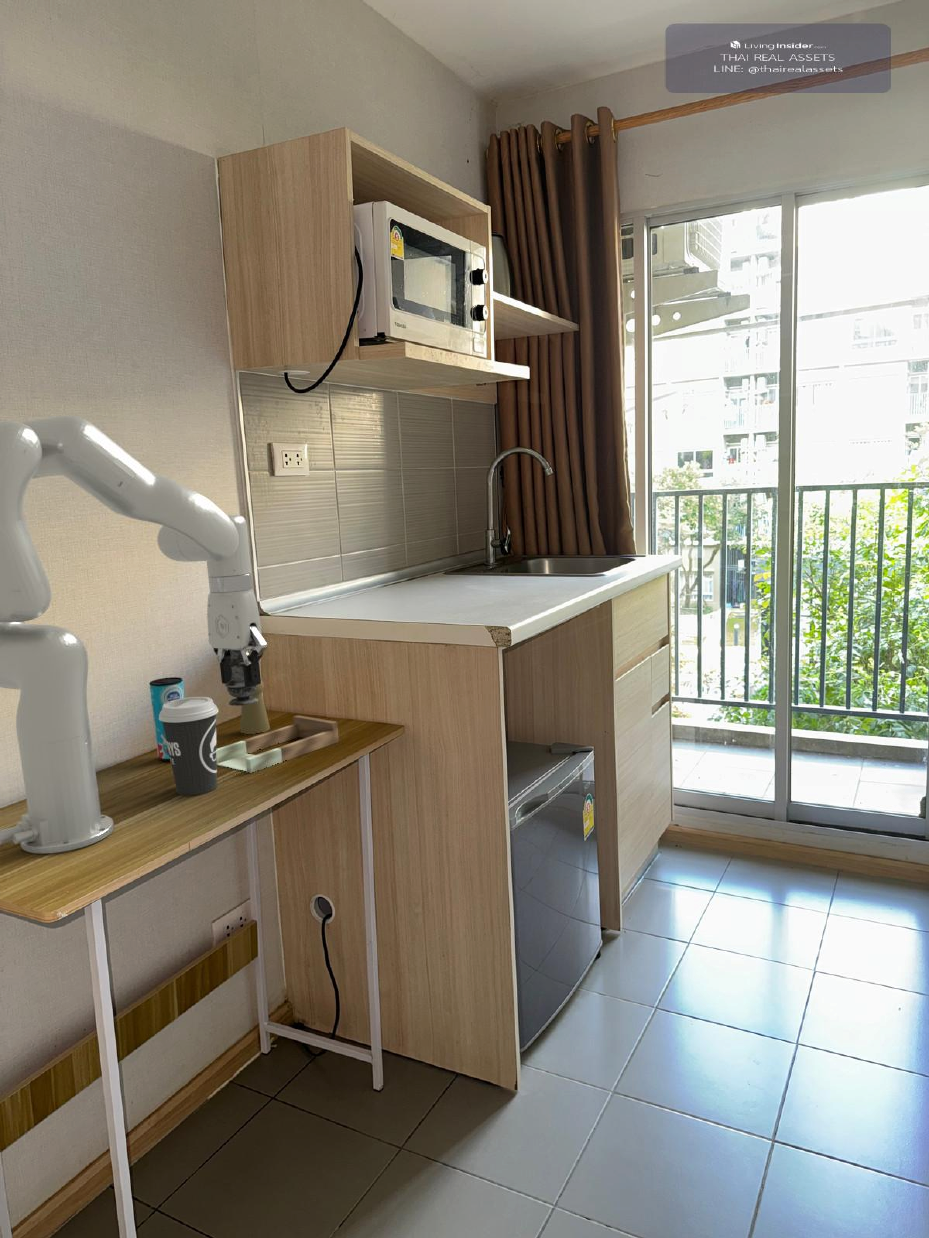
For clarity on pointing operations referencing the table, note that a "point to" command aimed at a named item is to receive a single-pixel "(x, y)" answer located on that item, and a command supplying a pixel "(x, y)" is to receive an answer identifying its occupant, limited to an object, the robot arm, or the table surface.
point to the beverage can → (160, 695)
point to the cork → (255, 714)
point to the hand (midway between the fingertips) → (241, 682)
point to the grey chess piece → (239, 682)
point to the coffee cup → (191, 743)
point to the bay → (309, 728)
